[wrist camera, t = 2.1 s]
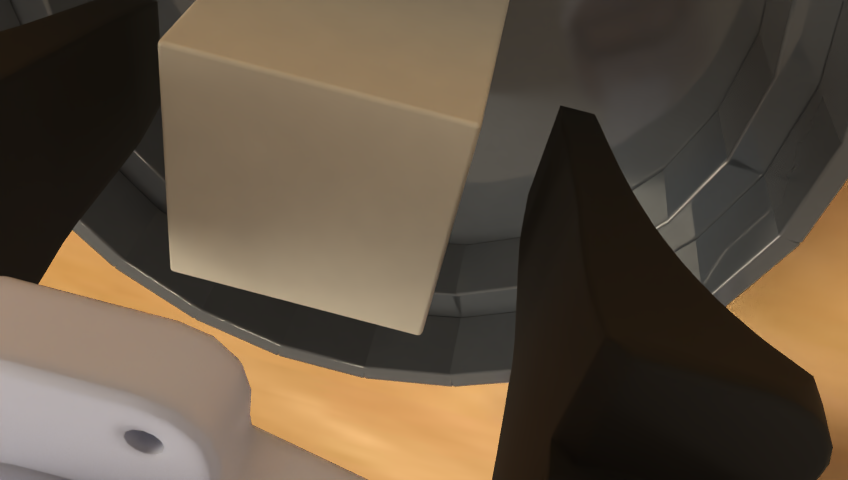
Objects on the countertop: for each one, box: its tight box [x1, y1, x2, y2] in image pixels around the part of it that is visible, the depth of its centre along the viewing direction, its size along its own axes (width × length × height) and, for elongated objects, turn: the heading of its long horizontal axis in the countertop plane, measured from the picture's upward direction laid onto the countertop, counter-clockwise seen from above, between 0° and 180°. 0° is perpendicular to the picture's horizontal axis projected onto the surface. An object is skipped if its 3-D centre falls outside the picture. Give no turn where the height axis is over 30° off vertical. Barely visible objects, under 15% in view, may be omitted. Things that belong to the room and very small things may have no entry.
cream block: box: [158, 0, 509, 335], centre depth 15 cm, size 4×4×8 cm
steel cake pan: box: [0, 0, 848, 387], centre depth 16 cm, size 18×18×4 cm
